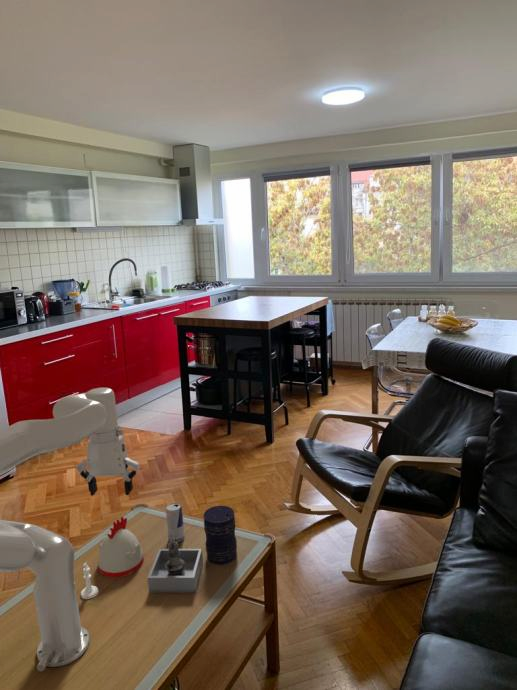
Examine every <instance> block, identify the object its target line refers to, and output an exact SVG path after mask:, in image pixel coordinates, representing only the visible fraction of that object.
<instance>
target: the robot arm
mask: <svg viewBox="0 0 517 690" xmlns="http://www.w3.org/2000/svg"><path fill="white" fill-rule="evenodd" d="M52 416H53V418H48V419H28V420H20V421H17V422H15V423H13V424H11V425H9V426H7V427H5V428H2V429H1V430H0V475H1V474H3V473H5V472H7V471H9V470H10V469H12V468H15V467H16V466H18V465H19V464H21V463H23V462H25V461H27V460H29V459H30V458H33V457H34V456H36V455H39V454H45V453H50V452H54V451H56V450H60V449H64V448H68V447H70V446H73V445H76V444H78V443H80V442H82V441H83V440H85V439H87V438H88V440H87V449H86V459H85V460H83V461H81V462H80V463H78V464H77V465H76V466H75V468H76V470H77V472H79V475H80V476H81V477H82V478H83V479H84V480H85V482H86V483H87V485H88V491H89V494H90V496H92V497H93V496H95V494H96V493H97V491H98V485H97V478H96V477H111V476H113V477H115V476H116V477H117V476H121V478H123V479H124V482H123V484H124V493H125V496H129V495H130V494H131V492H132V491H133V489H134V486H133V479H134V477H135V476H136V475H137V473H138V471H139V468H140V466H141V463H140V462H138V461H135V460H134V459H131V458H129V456H128V450H127V445H126V442H125V440H124V437H123V435H124V434H125V430H124V429H120V426H119V423H118V422H119V421H118V414H117V405H116V397H115V392H114V390H113V389H112V388H109V387H97V388H92V389H90V390H88V391H86V392H81V393H78V394H71V395H67V396H64V397H61V398H60V399H59V400H57V401H56V403H55V404H54V405H53V408H52ZM85 467H87V469H85ZM129 467H132V470H131V471H130V470H129ZM74 564H75V549H74V546H73V544H72V543H71V542H70V541H69V539H67V538H66V537H64V536H62V535H60V534H58V533H56V532H54V531H51V530H48V529H46V528H44V527H41V526H38V525H35V524H32V523H27V522H26V523H25V522H19V521H18V522H17V521H12V520H5V519H0V573H12V572H17V571H20V570H23V569H25V568H26V569H27V570H28V571H30V572H32V573H33V574H34V575H35V583H34V587H33V598H34V604H35V610H36V615H37V621H38V626H39V632H40V633H39V634H40V639H41V641H40V642H39V643H38V646H37V648H36V656H37V661H38V664H37V666H36V669H37V671H38V672H43V671H45V669H46V668H47V667H49V668H51V667H52V668H57V667H62V666H66V665H69V664H71V663H72V662H74V661H75V660H78V659H79V658H80V657H81V656H82V655H83V654H85V652H86V650H87V649H88V647H89V645H90V633H89V631H88V630H87V629H86V628H85V627H83V626H82V623H81V618H80V617H81V616H80V609H79V604H78V603H79V602H78V597H77V590H76V581H75V574H74V573H75V571H74V570H75V569H74V566H75V565H74Z"/></svg>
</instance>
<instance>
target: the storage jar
mask: <svg viewBox="0 0 517 690" xmlns="http://www.w3.org/2000/svg"><path fill="white" fill-rule="evenodd" d="M203 527H204V529H203V530H204V533H205V538H206V540H205V551H206V559H207V561H208V562H209V563H210V564H211V565H214V566H215V565H216V566H224V565H225V566H226V565H229V564H231V563H233V562H234V561H236V559H237V557H238V551H237V549H238V546H237V545H238V543H237V537H236V518H235V510H234V509H233V508H232V507H231V506H227V505H215V506H212V507H209V508H207V509H206V510H205V511H204V513H203Z"/></svg>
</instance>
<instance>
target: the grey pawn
mask: <svg viewBox="0 0 517 690" xmlns="http://www.w3.org/2000/svg"><path fill="white" fill-rule="evenodd" d="M178 543H179V542H176V541H174V540H173V539H172V541H170V542H169V543H168V546H167V547H168V549H169V552H168V556H169V559H170V560H169V561H168V562H167V563H166V564H165V568H166V569H167V571H168V574H167V576H184V575H185V572H184V570H183V568H184V565H185V561H184V560H183V559H180V558H179V554H180V551H179V550H178V549H179V544H178Z"/></svg>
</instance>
